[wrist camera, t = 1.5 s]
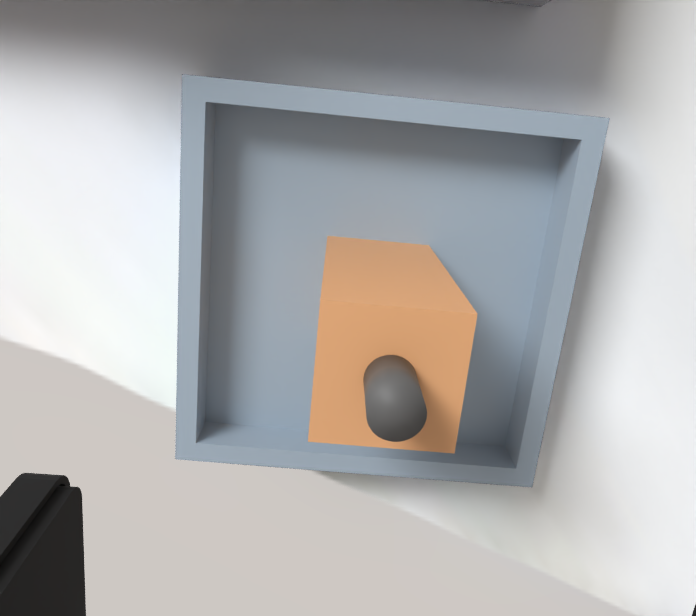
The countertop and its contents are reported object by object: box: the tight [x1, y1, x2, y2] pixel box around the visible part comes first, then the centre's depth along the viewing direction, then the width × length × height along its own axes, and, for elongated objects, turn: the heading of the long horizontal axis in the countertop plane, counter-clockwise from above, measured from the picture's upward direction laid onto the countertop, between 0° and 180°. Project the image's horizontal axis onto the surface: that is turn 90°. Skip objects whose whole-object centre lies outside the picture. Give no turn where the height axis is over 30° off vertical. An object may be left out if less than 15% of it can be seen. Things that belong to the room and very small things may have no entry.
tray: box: [175, 74, 610, 487], centre depth 24 cm, size 15×15×3 cm
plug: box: [308, 236, 477, 454], centre depth 19 cm, size 4×4×11 cm
